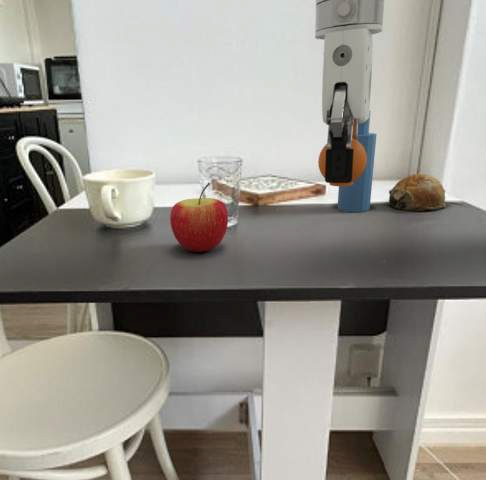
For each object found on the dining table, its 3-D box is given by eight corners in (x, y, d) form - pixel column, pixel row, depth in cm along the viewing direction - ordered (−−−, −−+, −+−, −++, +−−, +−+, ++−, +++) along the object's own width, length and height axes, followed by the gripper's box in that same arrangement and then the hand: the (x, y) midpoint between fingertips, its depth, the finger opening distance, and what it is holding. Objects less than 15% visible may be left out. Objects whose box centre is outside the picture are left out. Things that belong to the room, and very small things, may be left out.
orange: (344, 178, 61) (346, 133, 59) (375, 184, 56) (379, 135, 54) (308, 184, 59) (309, 137, 57) (337, 190, 54) (339, 140, 52)
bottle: (354, 204, 90) (362, 110, 83) (376, 209, 84) (386, 110, 78) (331, 207, 87) (336, 112, 81) (351, 213, 82) (359, 111, 76)
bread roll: (438, 230, 82) (465, 191, 79) (389, 207, 82) (413, 168, 79) (423, 217, 91) (446, 182, 88) (378, 197, 91) (400, 161, 88)
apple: (230, 257, 62) (228, 186, 58) (170, 259, 62) (165, 189, 58) (227, 240, 70) (225, 177, 66) (174, 242, 70) (169, 179, 66)
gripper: (380, 3, 42) (367, 191, 49) (385, 26, 57) (375, 167, 63) (301, 14, 45) (299, 190, 51) (326, 33, 59) (322, 168, 66)
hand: (341, 176), depth 57 cm, fingers closed on orange, 6 cm apart
